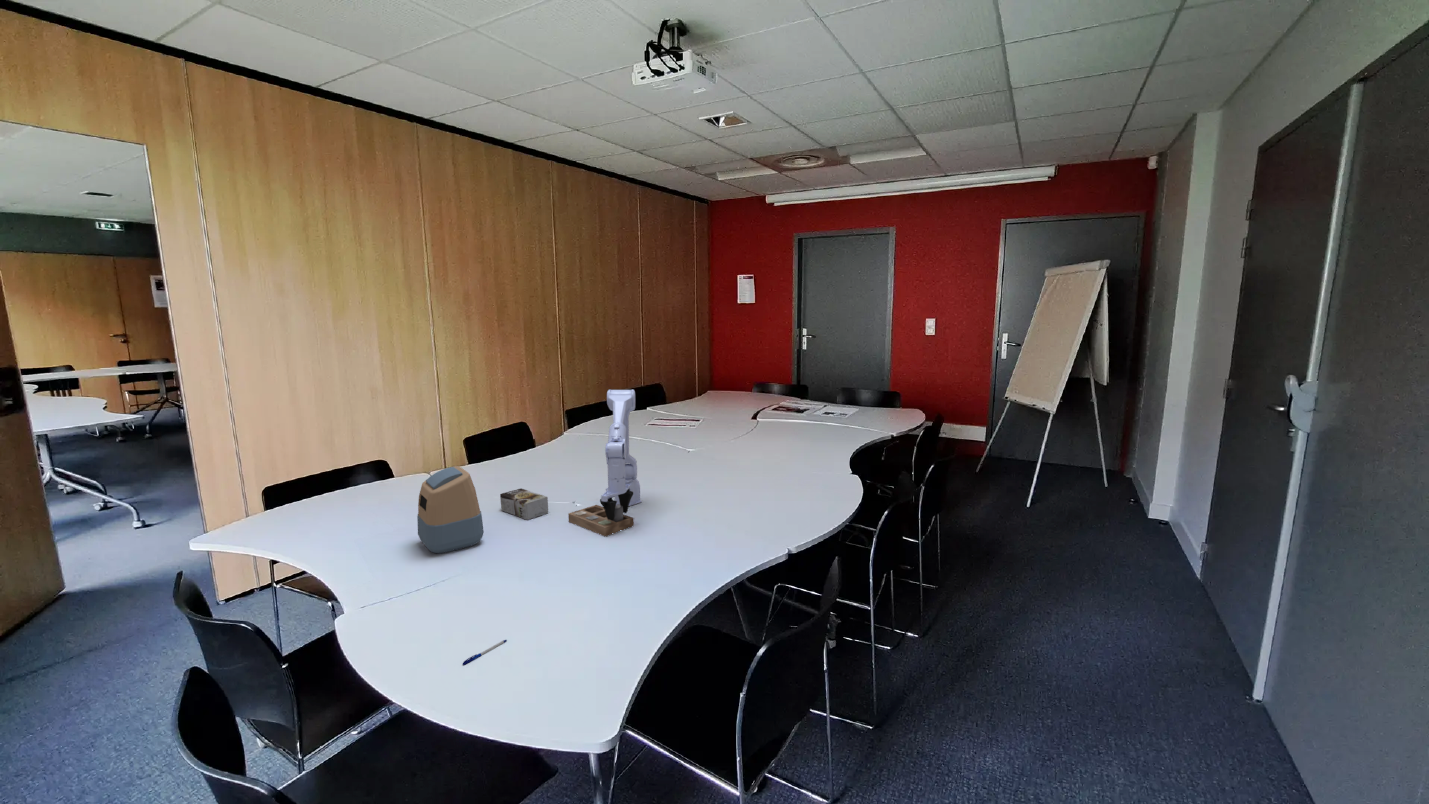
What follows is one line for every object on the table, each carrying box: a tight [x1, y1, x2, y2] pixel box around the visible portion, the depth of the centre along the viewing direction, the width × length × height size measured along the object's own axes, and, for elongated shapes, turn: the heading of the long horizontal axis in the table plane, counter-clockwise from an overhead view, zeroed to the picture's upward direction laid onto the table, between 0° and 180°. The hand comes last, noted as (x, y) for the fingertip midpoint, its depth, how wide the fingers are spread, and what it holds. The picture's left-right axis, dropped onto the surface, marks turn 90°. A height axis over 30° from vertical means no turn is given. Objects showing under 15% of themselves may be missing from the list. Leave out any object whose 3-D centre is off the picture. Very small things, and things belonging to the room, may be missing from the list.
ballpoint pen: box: [462, 639, 507, 666], centre depth 122 cm, size 10×1×1 cm, turn 148°
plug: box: [611, 504, 624, 522], centre depth 192 cm, size 4×4×8 cm
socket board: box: [568, 504, 635, 537], centre depth 195 cm, size 12×20×3 cm, turn 49°
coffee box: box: [499, 488, 549, 521], centre depth 206 cm, size 9×6×16 cm
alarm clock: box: [416, 465, 485, 554], centre depth 177 cm, size 17×17×23 cm
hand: (617, 516), depth 192 cm, fingers open, 7 cm apart
